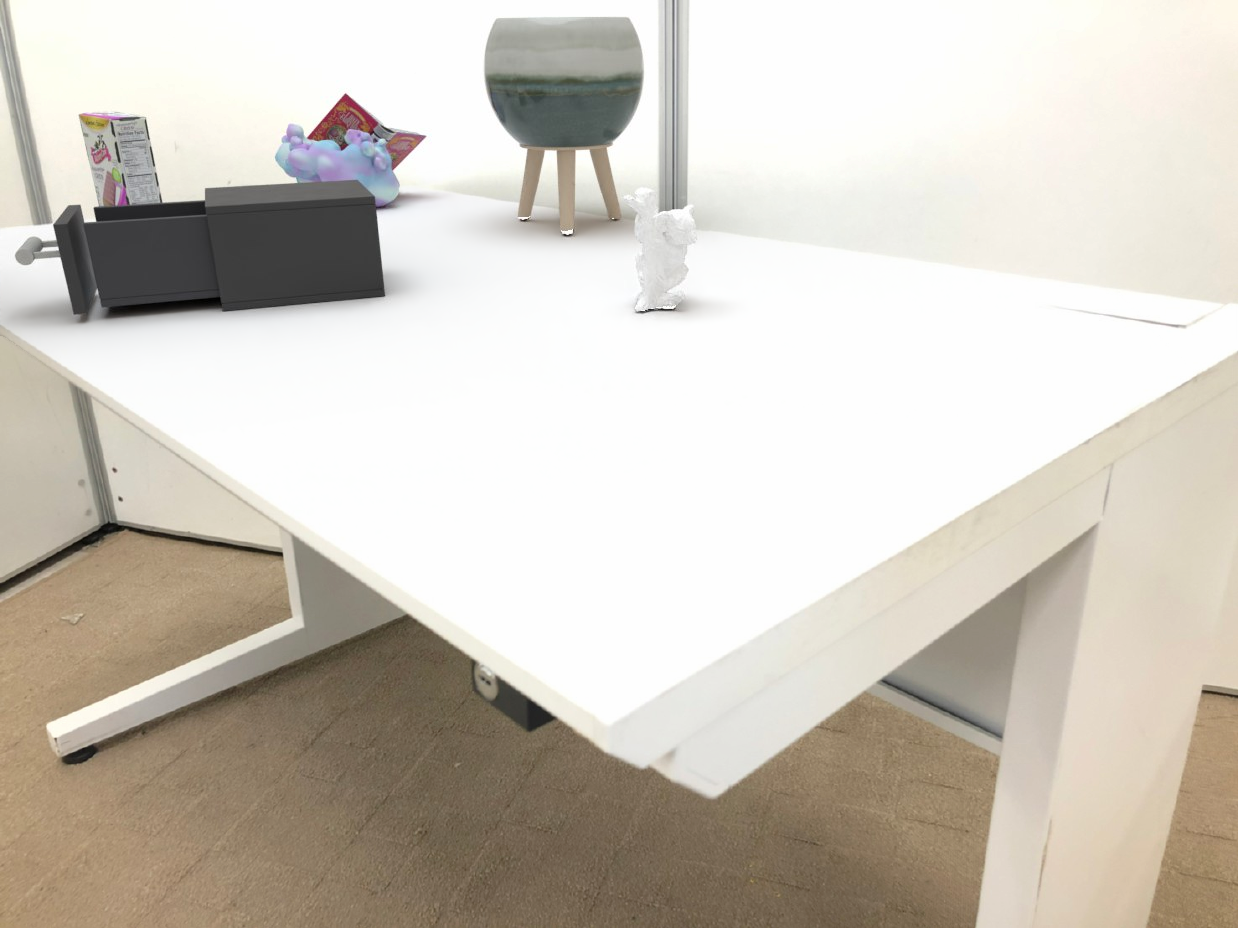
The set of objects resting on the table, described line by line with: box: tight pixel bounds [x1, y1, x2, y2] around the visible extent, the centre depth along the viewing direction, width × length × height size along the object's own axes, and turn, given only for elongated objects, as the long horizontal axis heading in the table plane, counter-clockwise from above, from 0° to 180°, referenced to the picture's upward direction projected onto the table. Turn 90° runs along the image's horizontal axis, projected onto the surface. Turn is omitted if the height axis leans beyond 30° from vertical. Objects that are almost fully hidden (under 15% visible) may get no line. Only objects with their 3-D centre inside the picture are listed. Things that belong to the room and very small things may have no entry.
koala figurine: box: [622, 186, 698, 312], centre depth 101 cm, size 8×7×12 cm
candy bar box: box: [78, 110, 163, 206], centre depth 137 cm, size 11×5×16 cm, turn 46°
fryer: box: [204, 180, 386, 312], centre depth 109 cm, size 17×14×11 cm
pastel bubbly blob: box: [274, 92, 427, 208], centre depth 163 cm, size 20×22×18 cm
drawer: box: [14, 199, 220, 316], centre depth 104 cm, size 20×12×9 cm, turn 111°
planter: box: [483, 16, 645, 231], centre depth 141 cm, size 22×22×28 cm
